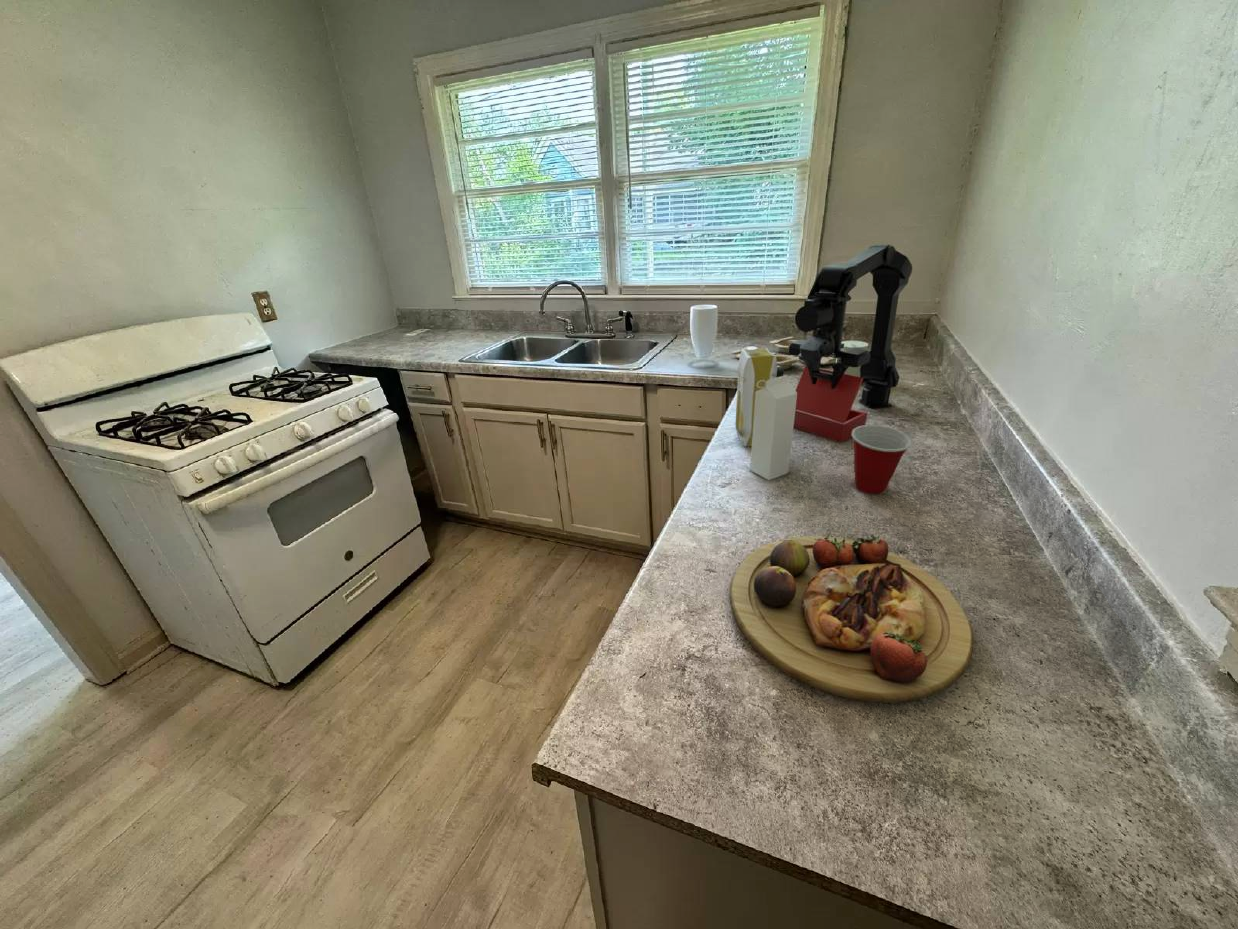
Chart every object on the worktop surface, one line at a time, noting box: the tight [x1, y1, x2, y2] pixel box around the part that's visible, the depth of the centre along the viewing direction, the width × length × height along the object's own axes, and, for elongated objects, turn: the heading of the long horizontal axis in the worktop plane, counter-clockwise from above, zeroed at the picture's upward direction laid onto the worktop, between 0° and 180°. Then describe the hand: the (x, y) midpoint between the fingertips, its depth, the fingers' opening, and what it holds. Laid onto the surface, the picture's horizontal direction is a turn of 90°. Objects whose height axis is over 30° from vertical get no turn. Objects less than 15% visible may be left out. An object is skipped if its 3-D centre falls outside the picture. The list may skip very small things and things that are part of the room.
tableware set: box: [731, 336, 836, 370], centre depth 189 cm, size 35×29×4 cm
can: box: [835, 340, 869, 377], centre depth 163 cm, size 9×9×12 cm
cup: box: [689, 304, 719, 359], centre depth 186 cm, size 10×10×22 cm
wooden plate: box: [729, 533, 974, 704], centre depth 71 cm, size 32×32×8 cm
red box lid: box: [795, 365, 863, 423], centre depth 123 cm, size 11×16×5 cm
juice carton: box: [735, 346, 777, 447], centre depth 121 cm, size 9×8×24 cm
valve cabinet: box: [793, 408, 868, 443], centre depth 130 cm, size 11×16×5 cm
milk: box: [749, 374, 797, 481], centre depth 106 cm, size 6×6×22 cm
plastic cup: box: [851, 424, 913, 495], centre depth 100 cm, size 11×11×12 cm
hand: (823, 386), depth 123 cm, fingers closed on red box lid, 5 cm apart
